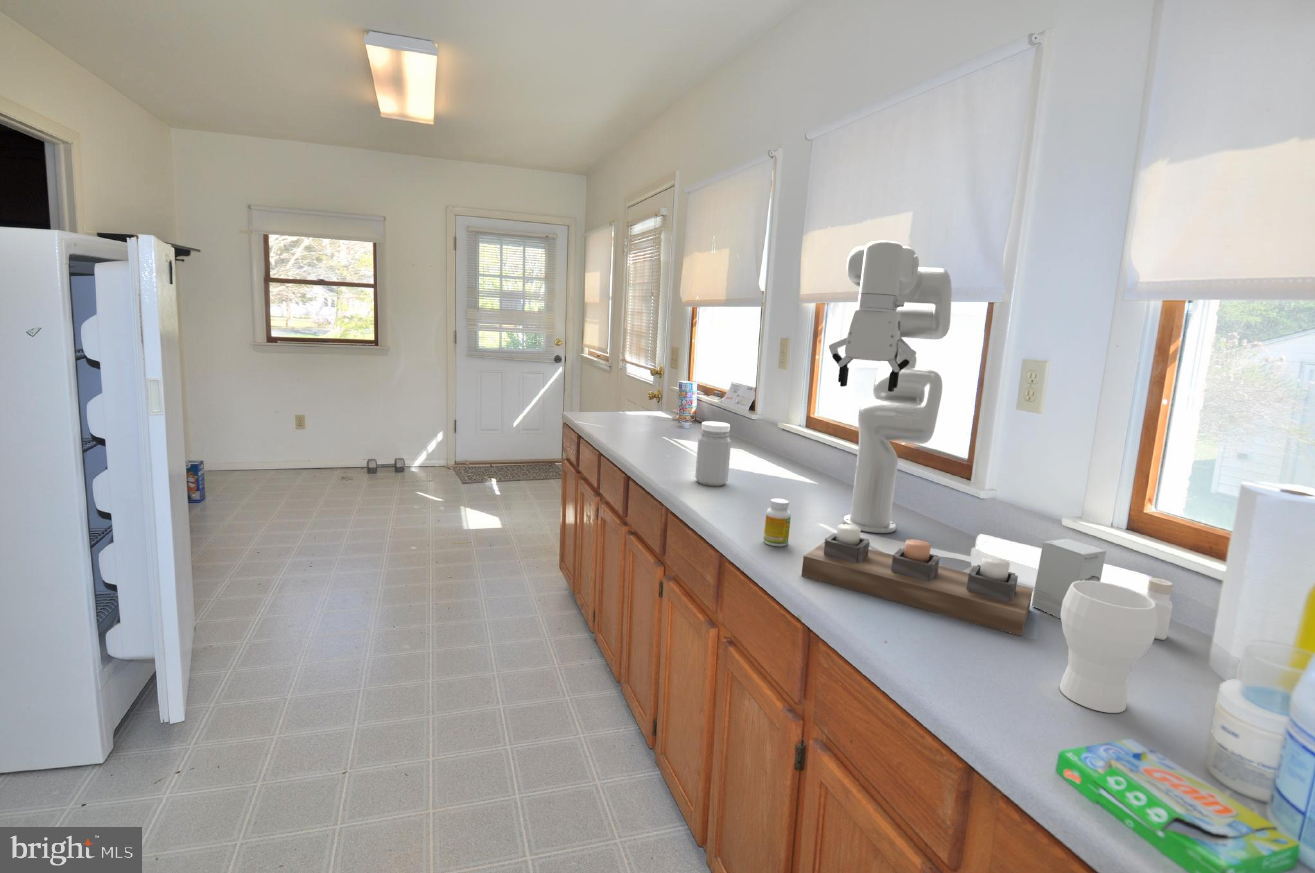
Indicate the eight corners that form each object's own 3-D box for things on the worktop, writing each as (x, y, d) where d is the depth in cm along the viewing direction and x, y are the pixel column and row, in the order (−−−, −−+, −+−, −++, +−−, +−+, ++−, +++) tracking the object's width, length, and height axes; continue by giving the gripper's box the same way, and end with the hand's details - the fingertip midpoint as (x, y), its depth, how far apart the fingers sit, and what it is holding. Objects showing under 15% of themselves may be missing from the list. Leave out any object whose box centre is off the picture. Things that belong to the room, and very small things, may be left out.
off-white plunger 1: (839, 537, 135) (841, 522, 134) (861, 542, 132) (863, 527, 132) (832, 542, 131) (834, 527, 130) (854, 547, 129) (856, 532, 128)
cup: (1124, 687, 95) (1144, 587, 93) (1151, 728, 85) (1174, 617, 83) (1040, 670, 99) (1058, 573, 96) (1057, 707, 89) (1076, 600, 86)
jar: (693, 484, 198) (697, 424, 195) (696, 477, 207) (701, 419, 204) (726, 488, 196) (731, 427, 193) (728, 480, 206) (733, 422, 203)
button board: (826, 557, 142) (829, 525, 141) (1029, 609, 121) (1035, 572, 120) (801, 575, 130) (805, 541, 129) (1021, 636, 110) (1028, 595, 109)
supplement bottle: (787, 548, 146) (792, 505, 144) (762, 545, 147) (766, 502, 145) (788, 540, 151) (792, 499, 149) (763, 537, 152) (768, 496, 150)
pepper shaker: (1166, 642, 112) (1177, 587, 110) (1136, 634, 114) (1147, 581, 112) (1163, 633, 115) (1174, 580, 113) (1135, 626, 117) (1145, 574, 115)
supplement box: (1070, 623, 116) (1083, 554, 114) (1029, 606, 123) (1041, 540, 121) (1095, 617, 120) (1108, 550, 118) (1054, 601, 126) (1066, 536, 124)
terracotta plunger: (906, 552, 128) (908, 537, 127) (931, 558, 125) (933, 543, 125) (900, 558, 124) (903, 543, 124) (925, 564, 122) (928, 549, 121)
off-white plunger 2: (981, 570, 121) (983, 554, 120) (1008, 576, 118) (1011, 560, 118) (977, 577, 117) (980, 560, 117) (1005, 584, 115) (1008, 567, 114)
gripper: (924, 308, 136) (913, 392, 138) (839, 304, 144) (829, 383, 146) (919, 305, 129) (907, 394, 132) (830, 301, 137) (820, 385, 140)
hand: (866, 388), depth 139 cm, fingers open, 9 cm apart
